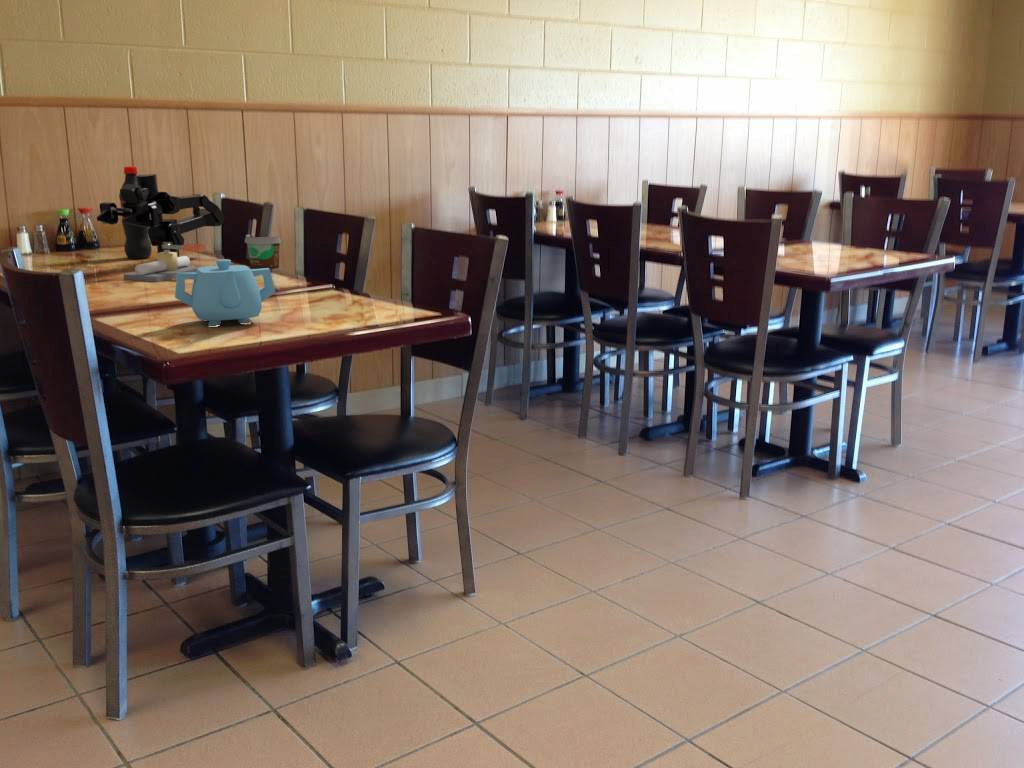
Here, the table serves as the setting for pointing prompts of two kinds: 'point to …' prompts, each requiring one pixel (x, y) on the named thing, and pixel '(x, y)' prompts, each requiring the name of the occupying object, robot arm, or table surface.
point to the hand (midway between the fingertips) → (110, 219)
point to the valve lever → (185, 247)
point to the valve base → (159, 275)
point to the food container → (263, 251)
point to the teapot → (225, 292)
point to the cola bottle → (134, 226)
